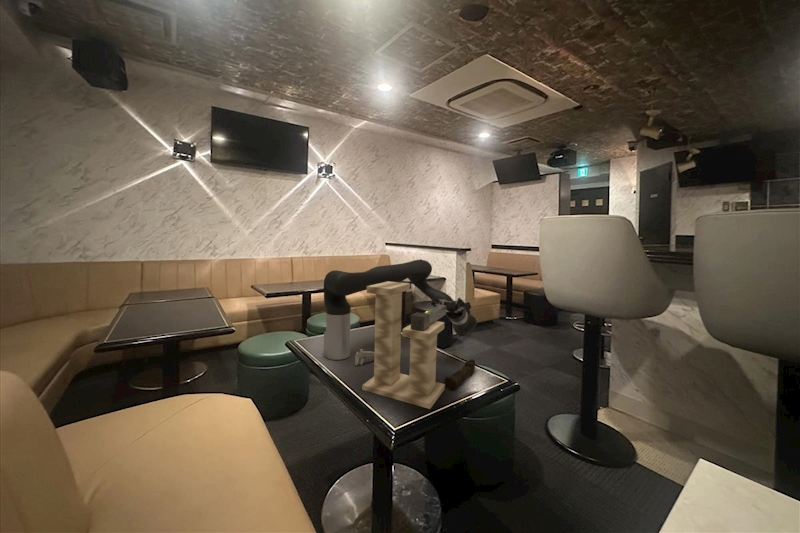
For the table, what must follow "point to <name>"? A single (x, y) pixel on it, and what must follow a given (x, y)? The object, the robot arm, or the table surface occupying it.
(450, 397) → the table surface
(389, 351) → the stand
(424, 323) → the spirit level
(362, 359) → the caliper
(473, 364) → the dark brown bar
